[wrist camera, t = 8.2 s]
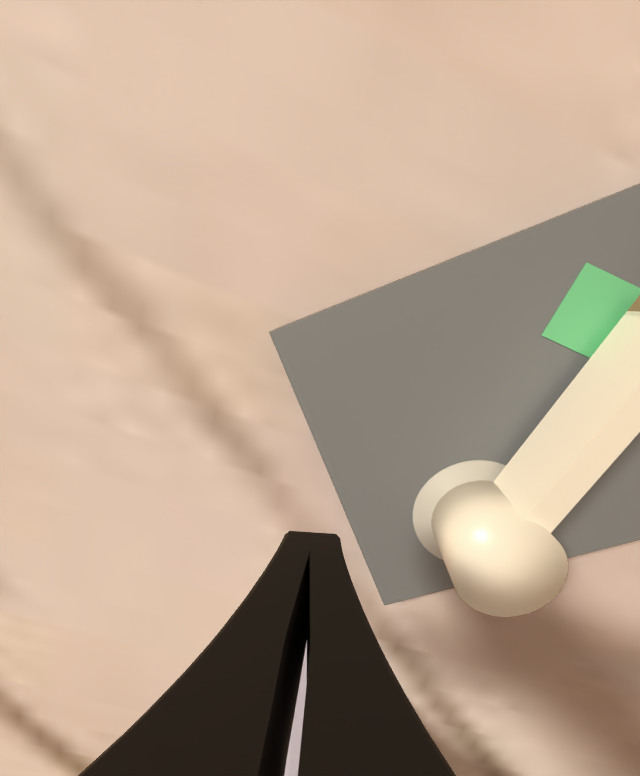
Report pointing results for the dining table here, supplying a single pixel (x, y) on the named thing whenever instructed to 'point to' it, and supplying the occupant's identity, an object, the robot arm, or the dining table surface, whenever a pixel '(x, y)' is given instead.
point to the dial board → (466, 383)
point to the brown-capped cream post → (542, 485)
